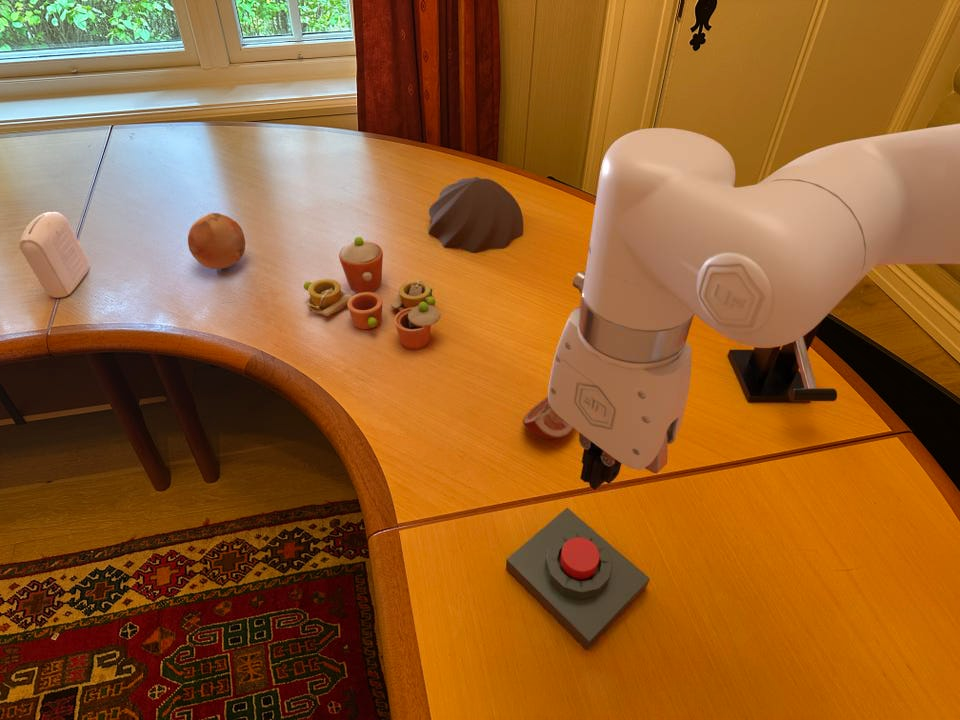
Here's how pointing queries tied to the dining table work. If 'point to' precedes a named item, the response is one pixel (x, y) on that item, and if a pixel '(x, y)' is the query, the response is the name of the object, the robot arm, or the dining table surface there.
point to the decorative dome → (475, 216)
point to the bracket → (769, 371)
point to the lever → (808, 379)
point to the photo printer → (54, 254)
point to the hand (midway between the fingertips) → (598, 475)
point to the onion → (216, 241)
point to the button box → (571, 600)
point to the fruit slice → (546, 422)
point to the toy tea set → (375, 295)
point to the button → (579, 558)
